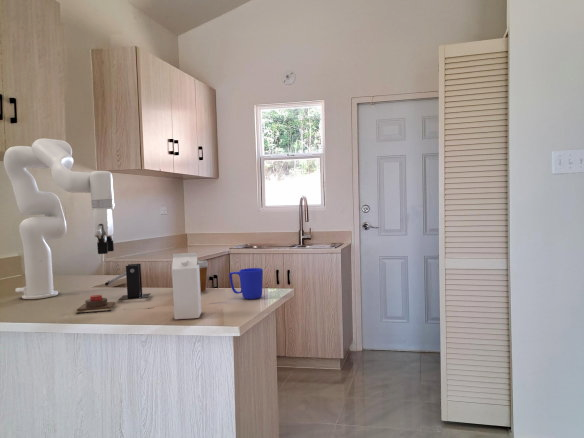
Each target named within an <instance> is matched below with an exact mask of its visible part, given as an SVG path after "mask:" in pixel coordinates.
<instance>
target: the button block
mask: <svg viewBox="0 0 584 438" xmlns="http://www.w3.org/2000/svg"><path fill="white" fill-rule="evenodd" d="M84 302H85V303H83V304H82V305H81V306H79V307H78V308H77V310H76V313H77V315H82V314H84V315H85V314H95V313H96V314H97V313H108V312H111V311H112V309H111V308H112V307H113V306H114V305H116V302H115V301H108V298H107V297H102V300H99V301H90V298H89V299H86V300H85V301H84Z"/></svg>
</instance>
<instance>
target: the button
mask: <svg viewBox="0 0 584 438" xmlns="http://www.w3.org/2000/svg"><path fill="white" fill-rule="evenodd" d="M102 298H103V295H102V294H93V295H90V296H89V299H90V301H99V300H102Z"/></svg>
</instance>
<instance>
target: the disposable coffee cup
mask: <svg viewBox="0 0 584 438" xmlns="http://www.w3.org/2000/svg"><path fill="white" fill-rule="evenodd" d="M198 262H199V271H200V291H201V292H205V291H206V290H207V289H206V288H207V274H208V268H209V267H208V266H209V263H208V261H207V260H204V259H202V260H200V259H198Z"/></svg>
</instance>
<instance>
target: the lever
mask: <svg viewBox="0 0 584 438" xmlns="http://www.w3.org/2000/svg"><path fill="white" fill-rule="evenodd" d="M124 277H126V271H125V272H123V273H121V274H119V275H117V276H115V277H113V278H112V279H110V280H107V281H106V282H105V283H104V286H108V287H109V285H110V284H112V283H114V282H117V281H118V280H120V279H122V278H124Z"/></svg>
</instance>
